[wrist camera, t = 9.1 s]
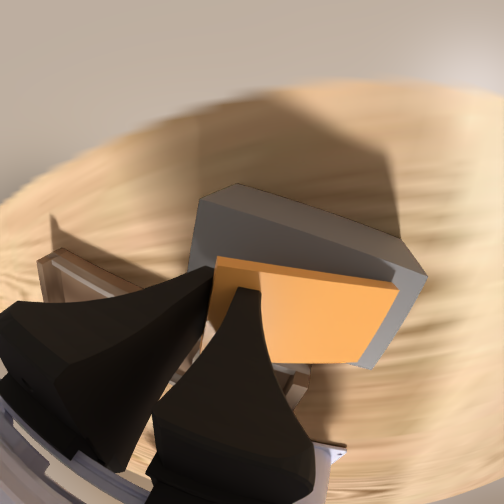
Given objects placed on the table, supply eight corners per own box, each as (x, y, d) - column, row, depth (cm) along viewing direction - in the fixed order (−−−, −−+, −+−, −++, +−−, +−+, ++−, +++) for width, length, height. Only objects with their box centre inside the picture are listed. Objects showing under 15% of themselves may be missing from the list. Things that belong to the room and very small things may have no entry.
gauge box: (364, 316, 16) (371, 370, 12) (214, 265, 18) (177, 303, 13) (401, 239, 14) (428, 276, 10) (231, 182, 16) (193, 196, 11)
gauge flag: (352, 353, 12) (357, 362, 11) (199, 345, 10) (199, 356, 10) (392, 282, 10) (399, 290, 10) (217, 255, 9) (217, 265, 8)
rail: (282, 405, 21) (274, 436, 18) (69, 305, 25) (48, 320, 22) (313, 353, 18) (307, 388, 15) (62, 247, 22) (36, 260, 19)
